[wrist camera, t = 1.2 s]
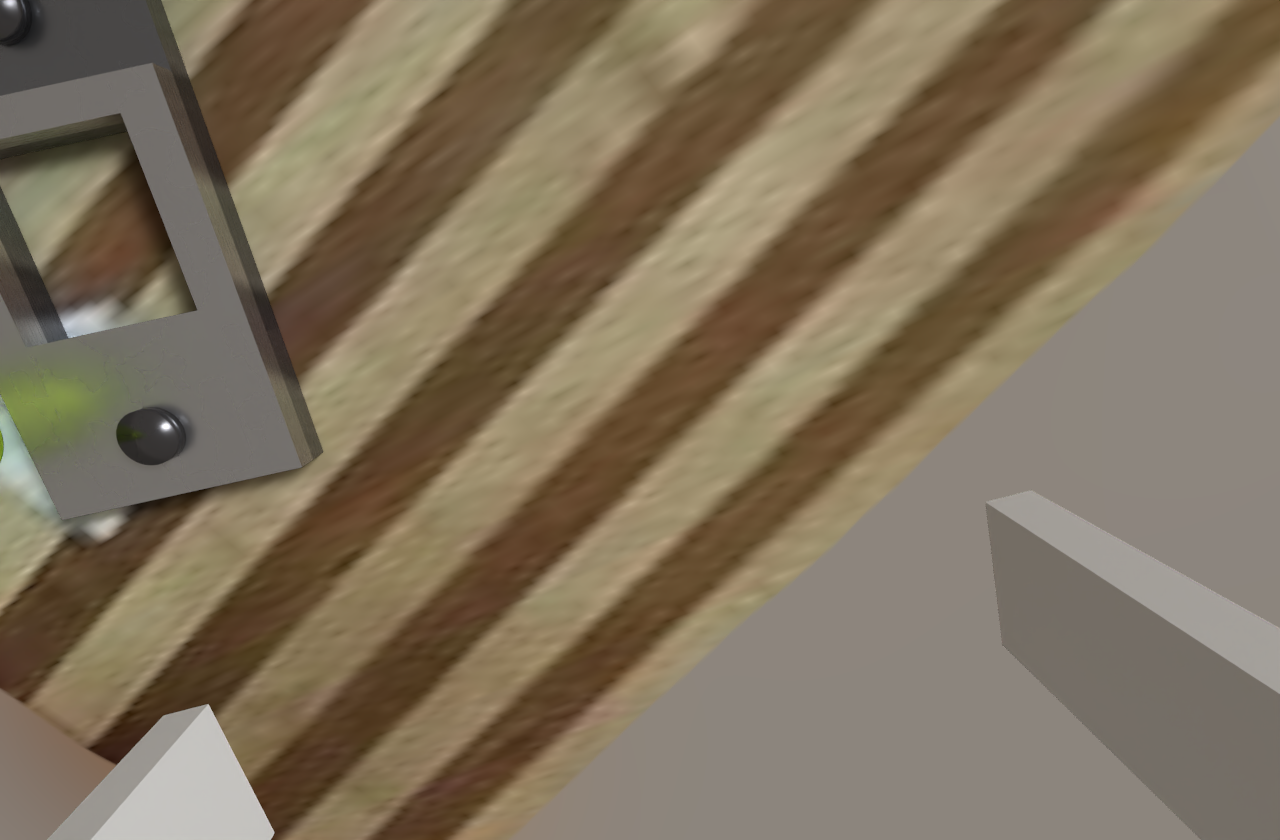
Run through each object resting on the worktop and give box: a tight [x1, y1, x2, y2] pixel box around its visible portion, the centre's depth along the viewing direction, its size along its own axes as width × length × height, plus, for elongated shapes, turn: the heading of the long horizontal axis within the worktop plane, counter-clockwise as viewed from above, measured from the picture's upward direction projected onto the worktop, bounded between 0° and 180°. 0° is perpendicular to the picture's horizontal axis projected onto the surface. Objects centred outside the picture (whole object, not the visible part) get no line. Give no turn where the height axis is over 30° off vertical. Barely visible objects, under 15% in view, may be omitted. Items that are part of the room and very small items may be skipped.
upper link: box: [0, 63, 323, 520], centre depth 34 cm, size 20×14×4 cm, turn 12°
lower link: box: [0, 0, 279, 343], centre depth 32 cm, size 20×14×2 cm, turn 12°
